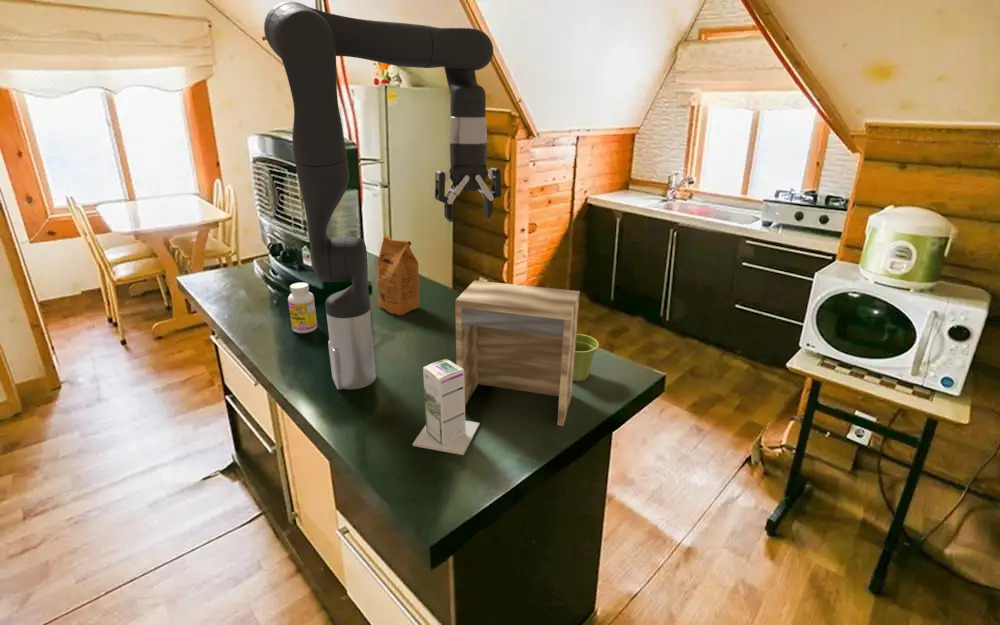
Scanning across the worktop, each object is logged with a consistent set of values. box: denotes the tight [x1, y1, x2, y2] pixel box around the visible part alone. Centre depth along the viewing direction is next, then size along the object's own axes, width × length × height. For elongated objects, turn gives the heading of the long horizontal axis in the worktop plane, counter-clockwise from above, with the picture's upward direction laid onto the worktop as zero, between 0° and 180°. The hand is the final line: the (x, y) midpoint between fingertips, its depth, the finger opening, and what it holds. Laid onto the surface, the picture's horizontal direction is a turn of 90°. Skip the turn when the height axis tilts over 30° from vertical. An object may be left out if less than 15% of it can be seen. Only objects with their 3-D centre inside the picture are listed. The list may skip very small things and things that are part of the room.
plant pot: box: [573, 333, 600, 382], centre depth 125 cm, size 9×9×9 cm
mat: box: [412, 419, 480, 456], centre depth 104 cm, size 10×10×1 cm
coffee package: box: [376, 234, 421, 316], centre depth 159 cm, size 10×12×22 cm
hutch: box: [454, 280, 581, 427], centre depth 111 cm, size 12×22×24 cm, turn 75°
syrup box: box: [422, 358, 466, 445], centre depth 101 cm, size 6×6×14 cm
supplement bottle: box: [287, 282, 318, 334], centre depth 146 cm, size 7×7×13 cm
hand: (468, 219), depth 115 cm, fingers open, 8 cm apart
